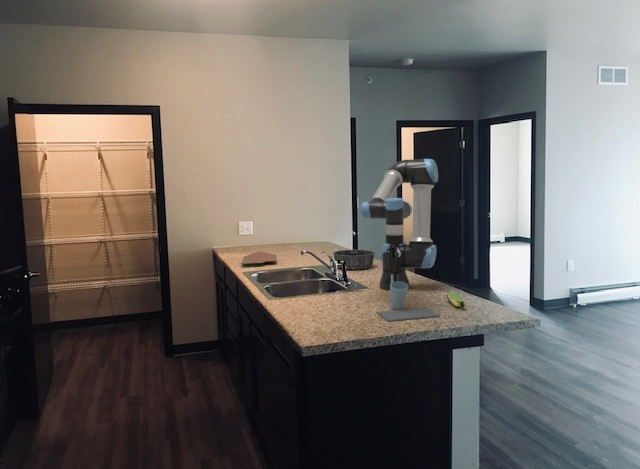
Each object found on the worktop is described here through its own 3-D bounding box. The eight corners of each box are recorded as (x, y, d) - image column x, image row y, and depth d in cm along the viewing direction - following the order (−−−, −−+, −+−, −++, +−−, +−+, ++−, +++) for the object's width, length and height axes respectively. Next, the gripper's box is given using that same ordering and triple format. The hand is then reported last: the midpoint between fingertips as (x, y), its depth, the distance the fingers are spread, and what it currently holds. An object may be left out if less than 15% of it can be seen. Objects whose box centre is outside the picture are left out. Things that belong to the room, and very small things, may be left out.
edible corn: (457, 290, 243) (447, 288, 243) (468, 302, 223) (457, 299, 223) (454, 301, 244) (444, 299, 244) (464, 314, 224) (454, 311, 224)
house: (276, 259, 383) (276, 247, 382) (277, 266, 351) (276, 254, 350) (244, 260, 381) (243, 249, 380) (241, 268, 349) (241, 256, 348)
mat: (376, 313, 224) (376, 311, 224) (425, 308, 229) (425, 307, 229) (388, 321, 211) (388, 320, 211) (440, 316, 216) (440, 315, 215)
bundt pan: (375, 264, 347) (375, 248, 346) (375, 271, 321) (375, 255, 320) (334, 264, 349) (334, 249, 348) (331, 272, 323) (331, 255, 322)
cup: (388, 310, 228) (390, 288, 224) (387, 301, 235) (390, 280, 231) (406, 312, 228) (408, 290, 224) (405, 303, 235) (407, 281, 231)
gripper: (381, 233, 235) (381, 286, 238) (391, 236, 223) (391, 292, 225) (397, 232, 237) (397, 285, 239) (408, 235, 224) (408, 291, 227)
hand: (394, 288), depth 232 cm, fingers closed
